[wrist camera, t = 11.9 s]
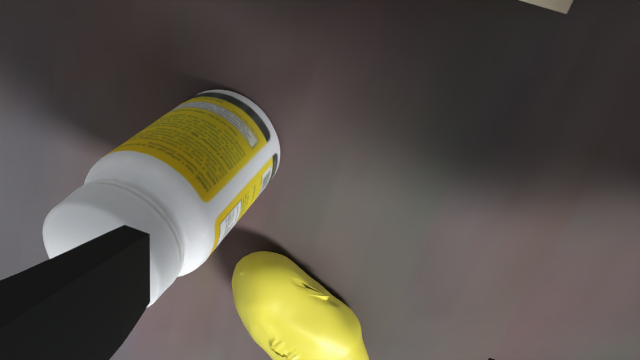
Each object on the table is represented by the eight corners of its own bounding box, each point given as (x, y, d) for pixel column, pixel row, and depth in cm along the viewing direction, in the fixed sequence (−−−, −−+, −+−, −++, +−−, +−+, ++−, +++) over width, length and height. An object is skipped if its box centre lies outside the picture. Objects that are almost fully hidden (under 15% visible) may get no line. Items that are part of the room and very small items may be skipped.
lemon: (288, 217, 23) (250, 271, 20) (400, 340, 24) (382, 410, 21) (231, 255, 25) (189, 309, 22) (337, 366, 27) (312, 432, 24)
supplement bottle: (167, 90, 22) (3, 188, 15) (269, 82, 20) (136, 189, 13) (199, 190, 24) (68, 316, 17) (293, 190, 22) (190, 331, 15)
